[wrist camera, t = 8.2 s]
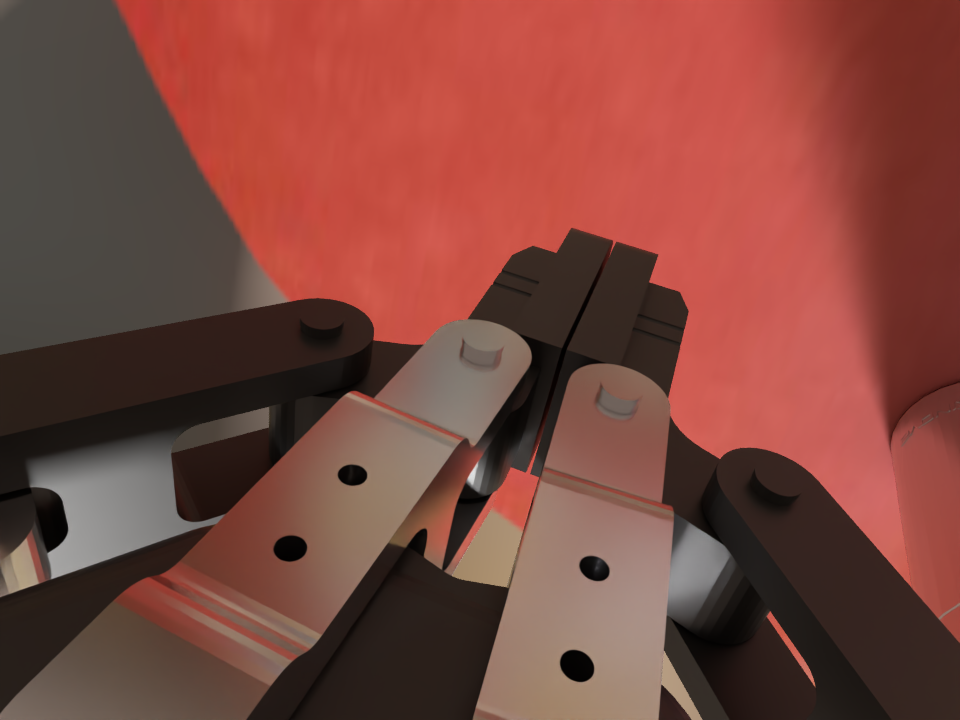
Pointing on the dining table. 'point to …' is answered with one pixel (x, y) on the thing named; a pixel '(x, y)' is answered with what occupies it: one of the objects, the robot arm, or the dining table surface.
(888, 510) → the dining table surface
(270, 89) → the dining table surface
